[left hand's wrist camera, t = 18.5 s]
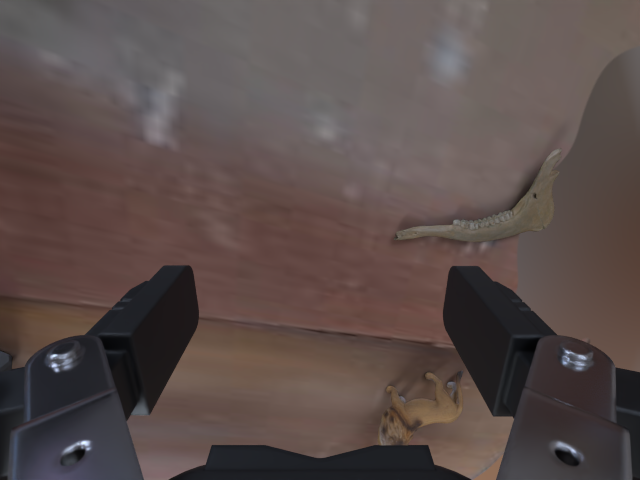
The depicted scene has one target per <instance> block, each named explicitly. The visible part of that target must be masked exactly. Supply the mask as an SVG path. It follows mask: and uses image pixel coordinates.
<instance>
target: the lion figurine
mask: <svg viewBox="0 0 640 480" xmlns="http://www.w3.org/2000/svg"><path fill="white" fill-rule="evenodd" d="M462 373H463V371H460V372H458V374H457V377H456V383H455V382H448V383H447V387H448V388H449V389H453V391H452V393H451V394H450V395H449V394H448V393H447V392H446V391H445V390H444V388H443V385H442V381H441V380H439V379H438V378H437V377H436V376H435V375H434V374H432V373H430V372H428V373H426V374H425V378H426V379H427V380H433V381H434V382H435V397H436V399H435V400H433V401H432V400H429V399H423V398H419V399H413V400H411V401H408V402H407V403H406V400H405V399H404V397H402V396H399V395H398V392H397V390H396V389H395V388H394V387H393V386H388V387H387V389H386V390H387V392H388V393H391V401H392V407H390V408H388V409H387V410H386V412H385V413H384V414H383V415H382V419H381V424H380V427H379V429H378V433H379V435H378V444H379V445H408V443H409V442H410V440H412V438H413V433H414V432H415V431H416V430H417V429H418V428H419V427H422V426H425V425H428V424H432V423H451V422H453V421H455V420H456V419H457V418H458V416H459V415H460V414H461V412H462V408H463V398H462V392H461V387H460V379H461V377H462ZM457 398H458V404H456V401H457Z"/></svg>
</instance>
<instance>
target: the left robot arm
mask: <svg viewBox="0 0 640 480" xmlns="http://www.w3.org/2000/svg"><path fill="white" fill-rule="evenodd" d="M198 319H199V309H198V302H197V295H196V288H195V281H194V274H193V270H192V268H191V267H190V266H163V267H162V268H161V269H160V270H159V271H158V272H157V273H156V274H155V275H154V276H153V277H152V278H151V279H150V281H145V282H143V283H141V284H140V285H138V286H136V287H134V288H132V289H131V290H129V291H128V292H127V293H126V294H125V295H124V296H123V297H122V298H121V299H120V302H117V303H116V304H115V305H114V306H113V307H112V310H109V311H108V312H107V313H106V314H105V315H104V316H103V317H102V318H101V319H100V320H99V321H98V322H97V323H96V324H95V325H94V326H93V327H92V328H91V329H90V330H89V331H88V332H87V333H86V334H85V335H80V336H73V337H68V338H65V339H62V340H59V341H56V342H54V343H52V344H49V345H48V346H46V347H44V348H42V349H41V350H39V351H38V352H36V353H35V354H34V355H33V356H32V357H31V358H30V359H29V360H28V361H27V363H26V365H25V367H22V368H17V369H12V370H7V371H2V372H0V480H144V479H143V475H142V472H141V468H140V465H139V462H138V458H137V455H136V452H135V448H134V445H133V442H132V438H131V435H130V432H129V428H128V425H127V420H128V418H129V417H130V415H150V413H151V412H152V410H153V408H154V406H155V404H156V402H157V400H158V399H159V397H160V395H161V393H162V391H163V389H164V388H165V386H166V384H167V382H168V380H169V378H170V376H171V375H172V373H173V371H174V369H175V367H176V365H177V364H178V362H179V360H180V358H181V356H182V354H183V352H184V351H185V349H186V347H187V345H188V343H189V341H190V340H191V338H192V336H193V334H194V332H195V330H196V328H197V325H198ZM443 321H444V326H445V329H446V331H447V333H448V335H449V337H450V338H451V340H452V342H453V344H454V346H455V348H456V349H457V351H458V353H459V355H460V357H461V359H462V360H463V362H464V364H465V366H466V368H467V369H468V371H469V373H470V375H471V377H472V379H473V380H474V382H475V384H476V386H477V388H478V390H479V391H480V393H481V395H482V397H483V399H484V400H485V402H486V404H487V406H488V408H489V410H490V411H491V413H492V415H493V416H513V418H514V422H513V425H512V428H511V432H510V435H509V438H508V442H507V445H506V448H505V452H504V455H503V458H502V462H501V465H500V469H499V472H498V475H497V479H496V480H640V372H635V371H630V370H625V369H620V368H616V367H615V365H614V363H613V361H612V360H611V359H610V358H609V357H608V356H607V355H606V354H605V353H604V352H602V351H601V350H599V349H598V348H596V347H594V346H592V345H591V344H588V343H586V342H584V341H581V340H578V339H575V338H572V337H567V336H560V335H557V334H556V333H555V332H554V331H553V330H552V329H551V328H550V327H549V326H548V325H547V324H546V323H545V322H544V321H543V320H542V319H541V318H540V317H539V316H538V315H537V314H536V313H534V312H533V311H531V309H530V308H529V307H528V306H527V305H526V304H525V303H524V302H522V300H521V299H520V298H519V297H518V296H517V295H516V294H515V293H514V292H513V291H512V290H511V289H509V288H507V287H505V286H503V285H502V284H500V283H498V282H493V281H492V280H491V279H490V278H489V277H488V276H487V274H486V273H485V272H484V271H483V270H482V269H481V268H480V267H478V266H452V267H451V268H450V271H449V275H448V281H447V288H446V295H445V301H444V308H443ZM169 480H471V479H469V478H467V477H465V476H463V475H461V474H459V473H457V472H455V471H452V470H449V469H447V468H444V467H441V466H437V465H434V463H433V459H432V456H431V453H430V450H429V447H428V445H374V446H370V447H366V448H362V449H358V450H354V451H350V452H346V453H342V454H338V455H334V456H330V457H326V458H314V457H310V456H306V455H302V454H298V453H294V452H290V451H286V450H282V449H278V448H274V447H270V446H266V445H212V447H211V450H210V453H209V456H208V459H207V462H206V465H203V466H199V467H196V468H193V469H191V470H188V471H185V472H183V473H181V474H179V475H177V476H175V477H173V478H171V479H169Z"/></svg>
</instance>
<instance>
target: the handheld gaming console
mask: <svg viewBox="0 0 640 480" xmlns="http://www.w3.org/2000/svg"><path fill="white" fill-rule="evenodd" d="M11 369H12V356H10V355H9V354H6V353H4V352H1V351H0V372H2V371H7V370H11Z"/></svg>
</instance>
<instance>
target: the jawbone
mask: <svg viewBox="0 0 640 480" xmlns="http://www.w3.org/2000/svg"><path fill="white" fill-rule="evenodd" d="M561 151H562V150H561V148H560V149H556V150H554V151H553V152H552V153H551V154H550V155H549V156H548V157H547V158H546V160H545V161H544V163H543V165H542V166H541V168H540V170H539V173H538V175H537V176H536V178H535V180H534V182H533V184H532V186H531V187H530V189H529V191H528V192H527V193H526V194H525V196H524V197H523V198H521V199H520V201H519V202H518V203H517V205H516V206H515V207H514V208H513V209H512V210H508V211H504V213H501V212H500V213H499V214H498V215H496V214H495V215H493V216H492V217H491V216H488V218H487V219H486V218H483V219H482V220H481V219H478V220H477V221H476V220H475V221H474V222H473V221H472V220H470V221H469V222H468V221H466V220H464V219H463V220H461V221H460V220H458V219H456V220H454V221H453V224H452V225H438V226H418V227H412V228H409V229H407V230H402V231H398V232H396V237H395V238H394V240H406V239H413V238H418V237H424V236H437V237H444V238H449V239H454V240H460V241H468V242H484V241H491V240H497V239H502V238H506V237H510V236H513V235H516V234H519V233H522V232H526V231H540V230H542V229H545V228H546V227H547V226H548V225H549V224H550V222H551V220H552V218H553V215H554V201H553V197H552V186H553V182H554V180H555V179H556V178H557V176H558V175H559V171H556V170H555V171H552V169H553V167H554V165H555V164H556V162H557V161H558V160H559V159H560V158H561V156H560V153H561Z"/></svg>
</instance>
